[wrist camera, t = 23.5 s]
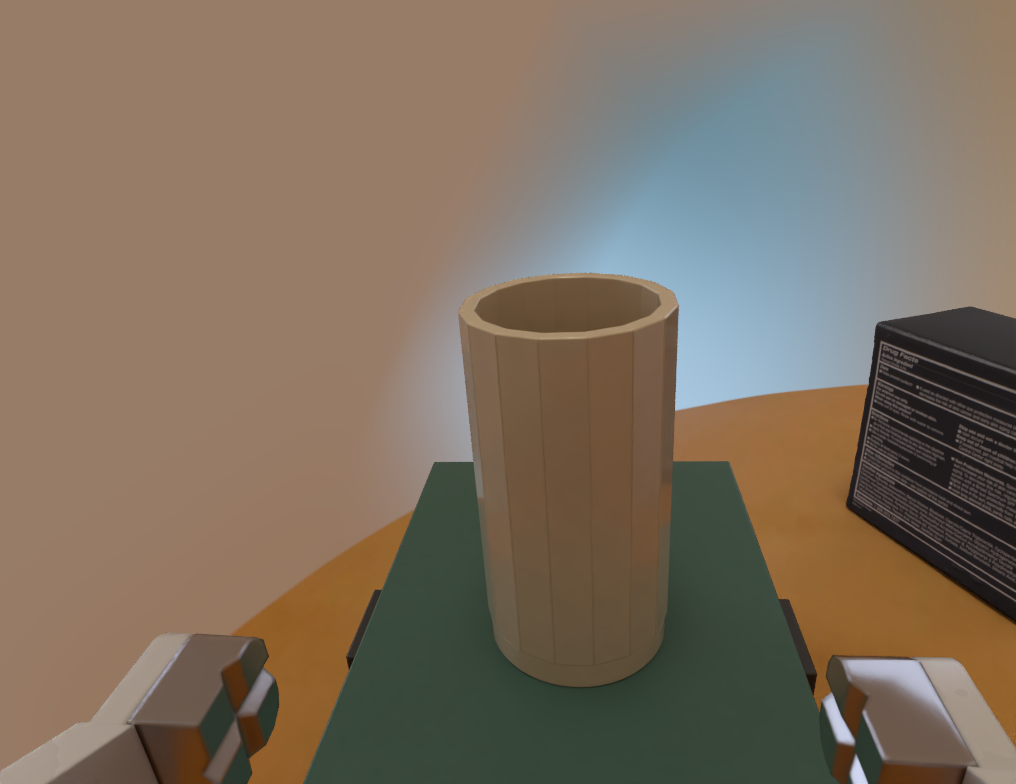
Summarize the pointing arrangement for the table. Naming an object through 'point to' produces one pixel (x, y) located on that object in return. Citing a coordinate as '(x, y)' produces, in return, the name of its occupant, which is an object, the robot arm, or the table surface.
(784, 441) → the table surface
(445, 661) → the box
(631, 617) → the cup
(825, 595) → the table surface
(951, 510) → the small box
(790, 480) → the table surface
